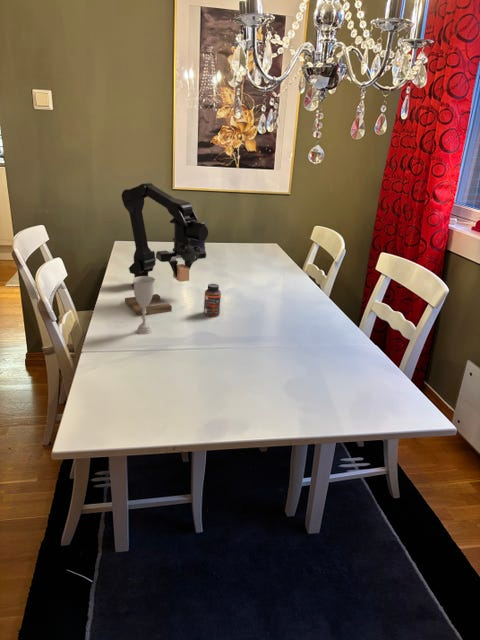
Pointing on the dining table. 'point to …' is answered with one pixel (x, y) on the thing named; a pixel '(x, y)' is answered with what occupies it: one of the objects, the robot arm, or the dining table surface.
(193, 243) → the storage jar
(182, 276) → the block
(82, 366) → the dining table surface
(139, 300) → the chalice
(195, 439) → the dining table surface
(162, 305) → the notched board
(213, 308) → the supplement bottle
